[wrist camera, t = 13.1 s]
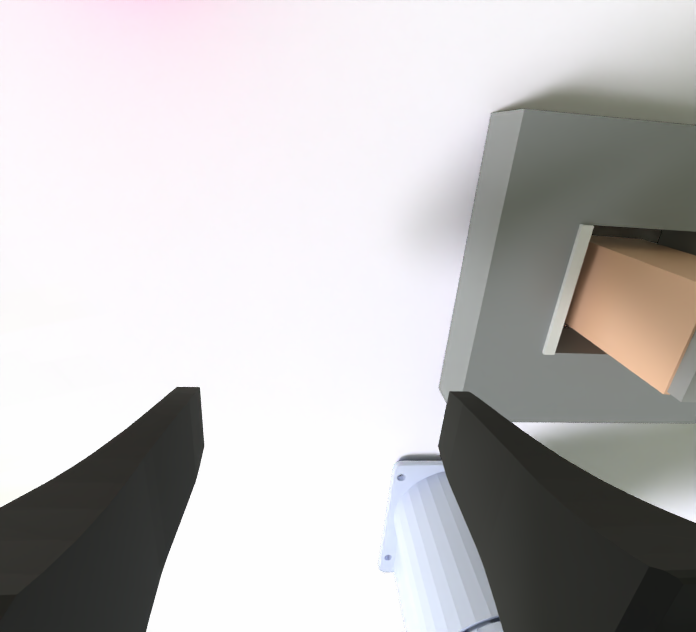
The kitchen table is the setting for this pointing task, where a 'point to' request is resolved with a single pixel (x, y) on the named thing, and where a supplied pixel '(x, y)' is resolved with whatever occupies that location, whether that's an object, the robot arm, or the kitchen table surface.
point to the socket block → (561, 262)
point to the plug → (640, 310)
